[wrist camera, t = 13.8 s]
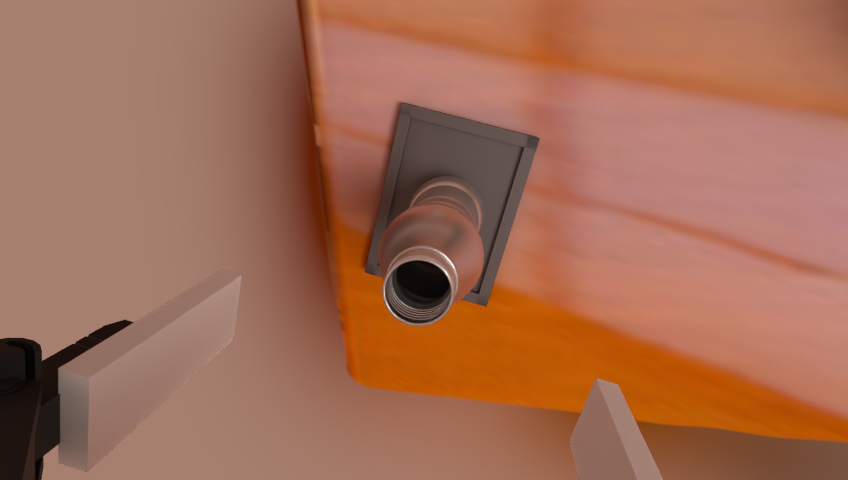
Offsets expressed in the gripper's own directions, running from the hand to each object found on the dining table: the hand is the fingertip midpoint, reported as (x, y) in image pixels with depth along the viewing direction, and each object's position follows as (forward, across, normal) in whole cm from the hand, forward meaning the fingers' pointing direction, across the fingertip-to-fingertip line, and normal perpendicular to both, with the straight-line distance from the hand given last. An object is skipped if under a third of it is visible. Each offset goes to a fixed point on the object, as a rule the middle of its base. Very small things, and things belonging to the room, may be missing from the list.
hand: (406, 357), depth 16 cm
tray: (+27, -1, 0) cm, 27 cm away
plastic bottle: (+26, -1, 0) cm, 26 cm away
